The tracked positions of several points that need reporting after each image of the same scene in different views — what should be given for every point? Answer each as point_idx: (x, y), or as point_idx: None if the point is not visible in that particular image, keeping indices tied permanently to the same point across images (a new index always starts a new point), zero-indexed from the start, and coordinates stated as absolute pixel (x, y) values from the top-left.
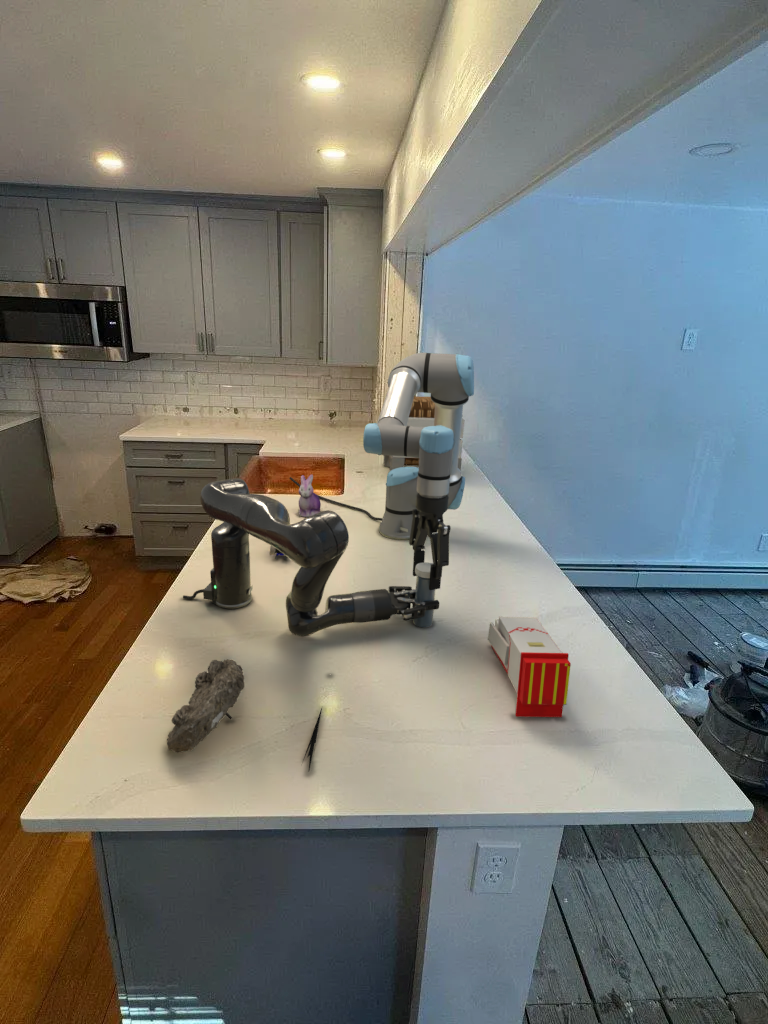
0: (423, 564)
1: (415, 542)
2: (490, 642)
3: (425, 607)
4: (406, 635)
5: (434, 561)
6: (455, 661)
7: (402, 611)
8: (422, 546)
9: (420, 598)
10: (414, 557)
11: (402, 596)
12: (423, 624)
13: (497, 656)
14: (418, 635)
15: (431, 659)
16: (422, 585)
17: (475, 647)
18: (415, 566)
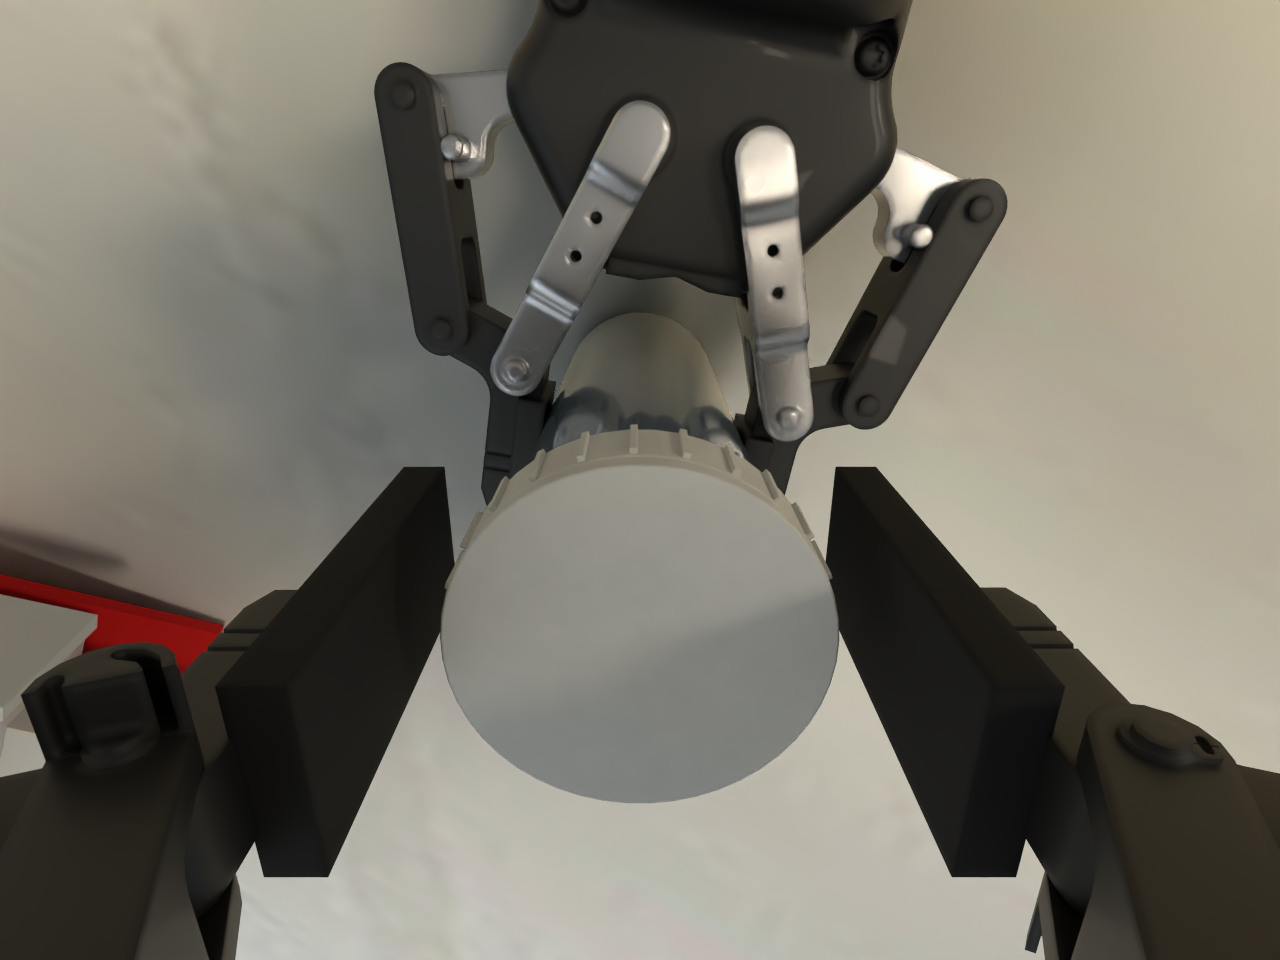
0: (756, 648)
1: (1232, 919)
2: (26, 605)
3: (485, 372)
4: (520, 169)
5: (77, 794)
6: (113, 336)
7: (470, 83)
8: (1055, 939)
9: (582, 382)
10: (972, 611)
11: (730, 232)
12: (573, 356)
13: (40, 586)
14: (490, 261)
15: (165, 185)
16: (553, 437)
17: (246, 540)
18: (877, 542)
